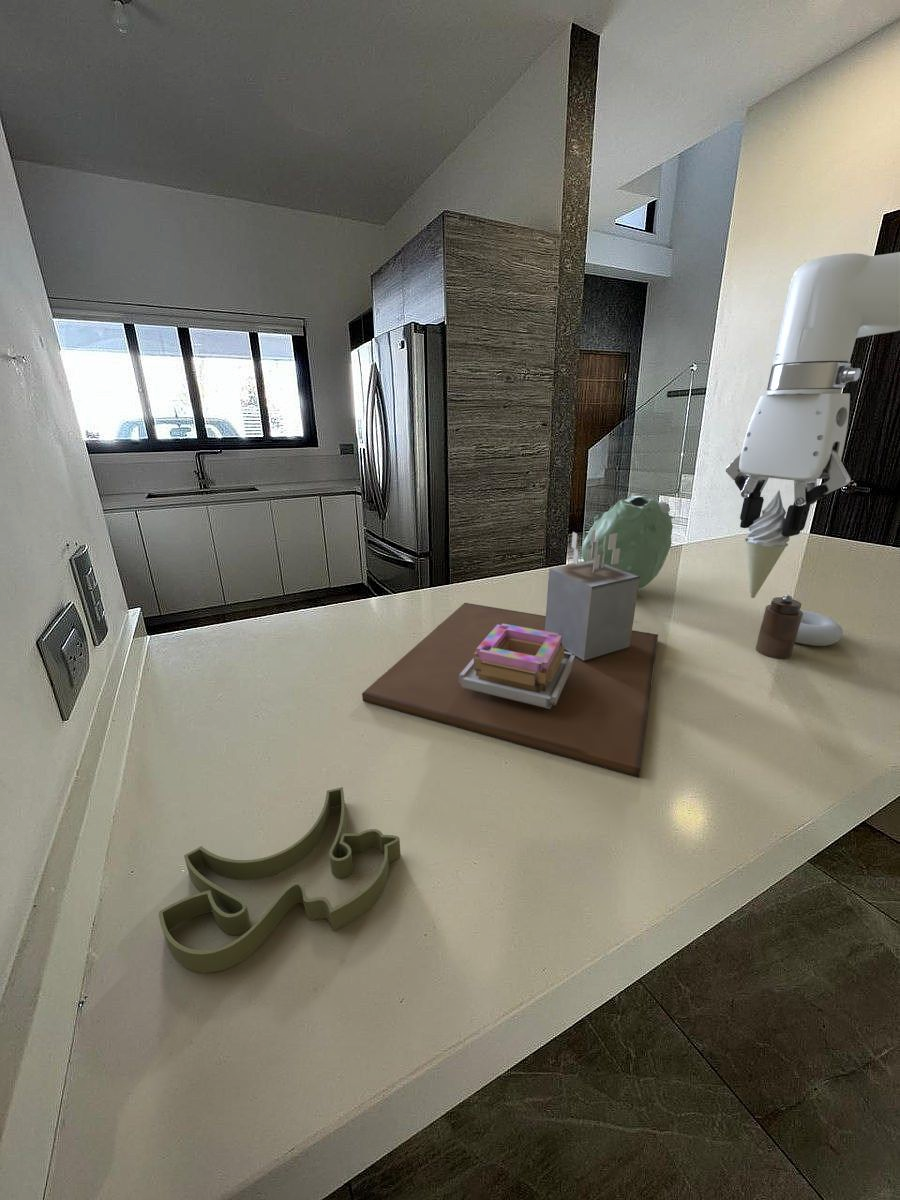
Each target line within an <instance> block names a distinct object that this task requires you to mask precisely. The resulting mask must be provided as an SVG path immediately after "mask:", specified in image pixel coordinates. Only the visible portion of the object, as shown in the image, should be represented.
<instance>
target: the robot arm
mask: <svg viewBox="0 0 900 1200" xmlns="http://www.w3.org/2000/svg"><path fill="white" fill-rule="evenodd" d="M780 323H781V324H780V328H779V332H778V338H777V341H776V346H775V351H774V356H773V360H772V366H771V370H770V373H769V378H768V383H767V387H766V392H765V394H760V397H759V399H758V400H757V403H756V405H755V408H754V410H753V412H752V415H751V418H750V420H749V423H748V426H747V429H746V432H745V436H744V440H743V443H742V447H741V451H740V453H739V454H738V455H737V456H736V457H735V458H734V459H733V460H732V461H731V462H730V464H728V466H727V467H726V468H725V472H726V474H727V475H728V476H729V477H730V478H731V480H733V481H734V483H735V485H736V487H737V488H738V489H739V491H740V496H741V498H743V502H742V506H741V511H740V514H739V519H740V523H739V524H740V525H739V527H740V528H741V529H749V526H751V525H752V524H754V523H753V521H755V520H756V519H758V518H760V517H761V515H762V510H763V505H764V501H765V499H764V496H762V492H763V490H764V489H765V486H766V485H767V482H768V480H769V479H779V480H786V481H793V490H794V491H793V492H794V501H793V504H790V505H789V506H788V507H787V510H786V514H785V522H784V526H783V530H782V535H783V536H785V537H789V538H790V537H793V536H797V535H798V536H799V535H800V533H801V531H803V530H804V529H805V527H806V524H807V520H808V516H809V513H810V509H811V505H814V504H816V502H817V501H819V500H820V499H822V498H824V497H825V496H827V495H829V494H830V493H832V492H835V491H836V490H839V489H840V488H844V487H845V486H847V485H849V484H850V483H851V482H852V480H851V479H852V478H851V476H850V474H849V473H848V471H847V469H846V468H845V465H844V463H843V461H842V457H843V454H844V449H845V444H846V438H847V433H848V424H849V417H850V403H851V393H848V392H847V393H842V392H843V389H845V388H846V384H847V383H850V382H857V381H858V380H859V379H860V376H861V373H862V370H861V368H860V367H852V363H851V359H852V355H853V352H854V348H855V345H856V340H857V339H859V338H864V337H870V336H874V335H875V336H876V335H881V334H889V333H895V332H899V331H900V251H897V252H891V253H884V254H876V255H875V254H874V255H869V254H864V253H859V252H858V253H856V252H851V253H850V252H849V253H839V254H832V255H827V256H822V257H818V258H815V259H812V260H810V261H807V262H804V263H803V264H801V266H799V267H798V268H797V269H796V270H795V272H794V273H793V275H792V277H791V279H790V283H789V286H788V292H787V296H786V301H785V305H784V309H783V314H782V319H781V322H780ZM824 479H828V480H827V481H824V482H823V483H821V484H819V485H818V480H824Z"/></svg>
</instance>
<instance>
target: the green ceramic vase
mask: <svg viewBox="0 0 900 1200" xmlns="http://www.w3.org/2000/svg"><path fill="white" fill-rule="evenodd" d="M670 511H671V507H670V504H668V503H667V502H665V501H658V500H656V499H655V498H650V497H648V496H644V494H643V493H640V492H633V493H632V494H631V496H630V497H628V498H625V499H622V498H621V499H620V500H618V501H617V502H616V503H615V504H614V505H610V508H609V510H608V511H601V515H600V514H597V515H596V516H594V518H593V525H592V526H591V527H590V529H589V531H588V532H587V535H586V536H585V538H584V540H583V542H582V544H581V545H582V546H581V558H582V560H583V562H586V560H587V550H588V546H590V544H591V534H592V530H594V529H596V533H595V541H599V543H598V552H597V556H598V555H600V560H599V562H602V558H603V554H602V552H603V543H604V538H605V537H606V542H605V550H604V551H605V556H604V563H605V564H608V565H610V566H613V567H616V568H619V569H621V570H624V571H627V572H630V573H633V574H635V575H638V576H640V579H639V586H638V590H639V589H641V588H644V587H646V586H647V585H649V583H651V582H652V581H653V580H654V579H655V578H656V577H657V576H658V575H659V573H660V571H661V570H662V568H663V567H664V564H665V562H666V560H667V557H668V555H669V553H670V551H671V547H672V542H673V541H672V533H673V529H674V528H673V521H672V519H675V517H674V516H671V515H670ZM610 534H617V539H616V547H615V549H620V554H619V562H618V564H611V562H612V554H613V550H608V546H609V537H610ZM591 555H592V549H591ZM591 560H594V558H590V560H589V561H591Z"/></svg>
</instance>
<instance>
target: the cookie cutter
mask: <svg viewBox="0 0 900 1200" xmlns="http://www.w3.org/2000/svg"><path fill="white" fill-rule="evenodd" d="M344 792H345V791H344V787H342V786H341V787H337V788H332V789H328V790H326V793H325V794H326V795H325V799H324V804H323V807H322V810H321V812H320V814H319V816H318V818H317V819H316V821H315V823H314V824H313V826H312V827H311V828H310V829H309V830H308V831H307V832H306V833H305V834H304V835H303V836H302V837H301V838H300V839H298V840H297V842H295V843H293V844H292V845H290V846H289V847H287V848H285V849H283V850H280V851H279V852H277V853H274V854H271V855H267V856H264V857H261V858H256V859H233V858H227V857H224V856H220V855H217V854H215V853H213V852H211V851H209V850H208V849H207V848H205V847H203V845H201V846H199V847H197V848H195V849H193V850H192V851H189V852H188V853H186V854H184V855H183V858H184V862H185V866H186V869H187V871H188V875H189V877H190V880H191V882H192V883H193V885H194V887H195V888H196V889H197V890H198V891H199V892H197V893H195V894H192V895H189V896H186V897H184V898H182V899H180V900H178V901H175V902H173V903H171V904H169V905H167V906H165V907H164V908H163V909H161V910H159V911H158V919H159V924H160V927H161V930H162V933H163V936H164V939H165V941H166V945H167V947H168V950H169V951H170V954H171V956H172V957H173V958H174V959H175V960H176V961H177V963H179V964H180V965H181V966H182V967H184V968H185V969H188V970H190V971H192V972H196V973H201V974H203V973H204V974H211V973H218V972H222V971H225V970H228V969H230V968H232V967H235V966H237V965H239V964H240V963H242V962H243V961H245V960H246V959H247V958H249V957H250V956H251V955H252V954H253V953H254V952H256V950H257V949H259V948H260V946H261V945H262V944H263V943H264V942H265V941H266V940H267V938H268V937H269V936H270V935H271V934H272V933H273V931H274V930H275V929H276V928H277V926H278V925H279V924H280V922H281V921H282V920H283V918H284V917H285V916H286V915H287V914H288V912H289V911H290V910H291V909H292V908H293V907H294V906H295V905H297V904H299V903H301V904H302V905H303V907H304V912H305V917H306V919H307V920H310V921H314V920H321V919H326V920H327V921H328V922H329V923H330V925H331V929H332V931H335V930H338V929H340V928H342V927H344V926H345V925H347V924H349V923H351V922H352V921H354V920H356V919H357V918H359V917H360V916H361V915H363V914H364V913H366V911H367V910H368V909H370V908H371V907H372V906H373V904H375V902H376V901H377V900H378V899H379V898H380V896H381V895H382V894H383V892H384V891H385V890H384V889H385V887H386V886H387V882H388V878H389V874H390V873H389V872H390V863H392V862H395V861H396V860H398V859H399V858H400V857H401V842H400V841H401V839H400V837H399V836H397V835H393V834H383V833H382V832H381V830H379V829H377V828H370V829H366V830H363V831H361V832H357V833H354V832H353V833H352V832H351V833H350V832H349V833H347V810H346V802H345V801H346V800H345V794H344ZM340 806H341V807H340ZM335 807H340V808H341V811H340V819H339V820H340V821H339V825H338V829H337V832H336V836H335V838H334V841H333V843H332V845H331V847H330V849H329V851H328V855H329V856H328V857H329V863H330V870H331V874H332V876H334V877H335V878H337V879H342V878H343V879H344V878H347V877H349V876H350V875H351V874H352V873H353V871H354V863H353V862H354V861H353V854H352V853H363V852H365V851H368V850H370V849H377V850H379V851H380V852H381V854H382V855H383V861H382V864H381V867H380V869H379V870H378V872H377V874H376V875H375V877H374V878H373V879H372V880H371V882H369V884H367V886H366V887H365V888H363V889H362V890H361V891H360V892H358V893H357V894H356V895H354V896H352V897H351V898H350V899H348V900H345V901H344V902H342V903H340V904H339V905H337V906H335V907H333V904H332V903H331V902H330V900H329V899H328V898H326V897H324V896H318V897H312V898H308V896H307V895H308V894H307V890H306V887H305V885H304V884H303V882H301V881H295V882H292V883H291V884H289V885H287V887H285V888H284V889H283V891H281V893H280V894H279V895H278V897H276V898H275V900H274V901H273V902H272V904H271V905H270V906H269V907H268V908H267V910H266V911H265V912H264V913H263V914H262V915H261V917H259V919H258V920H257V921H256V922H255V923H254V924H253V925H252V923H251V917H250V914H249V911H248V906H247V903H246V902H245V900H243V899H242V898H241V897H239V896H238V895H235V894H233V893H232V892H230V891H228V890H226V889H224V888H222V887H221V886H218V885H217V884H215V883H214V882H212V881H211V880H209V879H208V878H207V877H205V876H204V875H203V874H202V873H200V872H199V870H200V869H202V868H206V869H208V870H209V871H211V872H213V873H214V874H216V875H219V876H221V877H224V878H227V879H232V880H236V881H237V880H238V881H254V880H255V881H256V880H261V879H266V878H271V877H273V876H276V875H279V874H281V873H283V872H286V871H288V870H289V869H292V868H293V867H294V866H296V865H297V864H299V863H300V862H302V861H303V860H304V859H305V858H307V857H308V855H310V854H311V852H312V851H313V850H314V849H315V848H316V847H317V845H318V844H319V843H320V841H321V840H322V838H323V836H324V834H325V832H326V830H327V828H328V826H329V822H330V819H331V814H332V813H331V812H332V808H335ZM218 906H219V907H220V908H222V909H224V910H225V911H227V912H229V913H227V912H224V911H223V910H222V909H220V908H219V907H218ZM208 913H212V915H213V918H214V922H216V924H217V926H218V928H219V929H220V930H221V931H222V932H224V933H225V934H226V935H229V936H239V937H237V938H236V939H235V940H233V941H231V942H229V943H228V944H225V945H223V946H220V947H217V948H212V949H202V950H201V949H199V950H198V949H193V948H189V947H186V946H184V945H182V944H180V943H179V942H178V941H176V939H174V938H173V936H172V934H170V930H173V928H175V927H177V926H179V925H180V924H183V923H185V922H187V921H189V920H191V919H194V918H196V917H198V916H201V915H205V914H208ZM240 935H241V936H240Z"/></svg>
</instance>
